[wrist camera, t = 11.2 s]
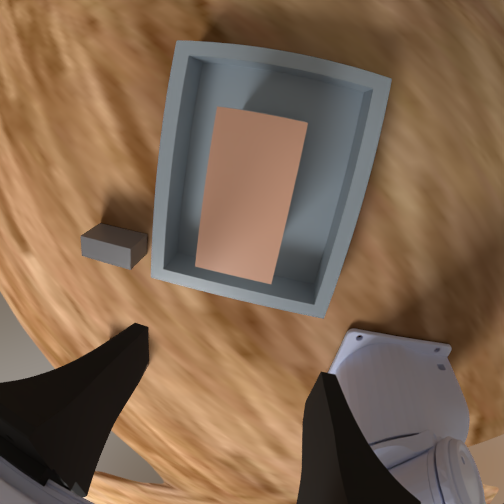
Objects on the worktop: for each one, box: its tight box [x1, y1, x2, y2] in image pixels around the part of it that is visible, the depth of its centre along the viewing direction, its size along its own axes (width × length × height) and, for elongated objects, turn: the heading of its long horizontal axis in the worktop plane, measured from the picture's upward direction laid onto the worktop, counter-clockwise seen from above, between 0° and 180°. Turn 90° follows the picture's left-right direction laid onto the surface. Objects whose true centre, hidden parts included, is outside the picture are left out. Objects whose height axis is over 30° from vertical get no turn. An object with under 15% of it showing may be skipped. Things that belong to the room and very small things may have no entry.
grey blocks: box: [81, 223, 148, 376], centre depth 23 cm, size 4×13×2 cm, turn 170°
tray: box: [151, 41, 392, 319], centre depth 17 cm, size 11×14×3 cm
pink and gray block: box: [195, 106, 308, 284], centre depth 15 cm, size 4×7×6 cm, turn 170°
